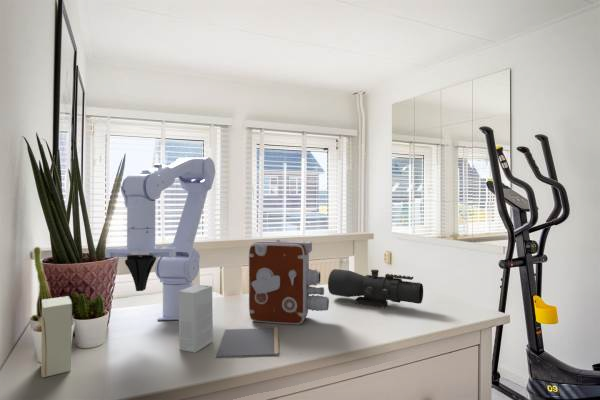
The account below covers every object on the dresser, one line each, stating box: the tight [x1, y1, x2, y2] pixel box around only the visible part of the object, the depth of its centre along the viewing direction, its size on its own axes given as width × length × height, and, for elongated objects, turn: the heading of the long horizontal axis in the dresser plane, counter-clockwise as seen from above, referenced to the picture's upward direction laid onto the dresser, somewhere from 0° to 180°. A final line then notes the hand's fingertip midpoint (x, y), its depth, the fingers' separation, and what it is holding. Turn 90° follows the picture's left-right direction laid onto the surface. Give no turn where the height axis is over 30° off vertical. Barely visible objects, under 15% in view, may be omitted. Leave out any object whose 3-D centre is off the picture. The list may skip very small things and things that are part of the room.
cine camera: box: [248, 239, 330, 325], centre depth 89 cm, size 9×19×20 cm, turn 78°
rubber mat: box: [215, 326, 280, 359], centre depth 76 cm, size 14×12×1 cm
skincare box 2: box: [178, 284, 214, 353], centre depth 74 cm, size 6×4×12 cm
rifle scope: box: [327, 268, 424, 309], centre depth 102 cm, size 10×26×10 cm, turn 58°
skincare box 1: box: [40, 295, 73, 378], centre depth 64 cm, size 6×4×12 cm
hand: (140, 290), depth 78 cm, fingers closed
